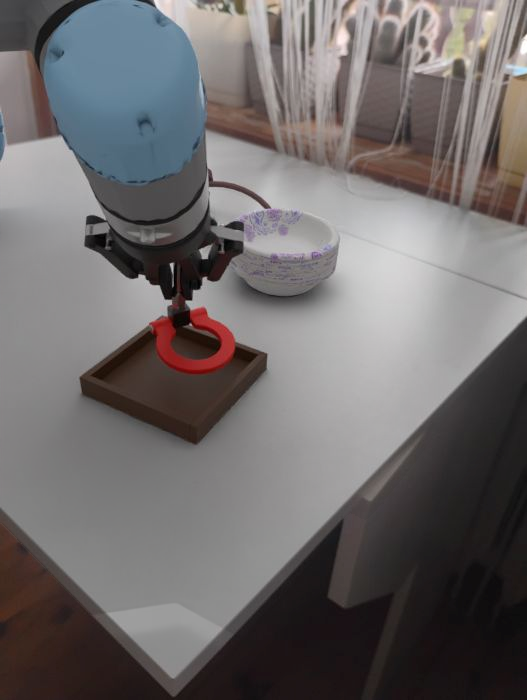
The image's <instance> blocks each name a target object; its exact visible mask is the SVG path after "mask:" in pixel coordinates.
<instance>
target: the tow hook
mask: <svg viewBox="0 0 527 700" xmlns="http://www.w3.org/2000/svg"><path fill="white" fill-rule="evenodd" d="M172 274H173V287H172V300H171V304H169V305H167V307H166V308H167V309H166V311H167V313H166V314H167V315H166V318H163V319H159V320H156V319H155V320H156V321H155V320H152V321H149V322H148V325H149V328H150V331H151V333H152V334H156V335H157V341H156V349H157V353H158V356H159V357H160V359H161V360H162V361H163V363H165V364H166V365H167V366H169V367H170V368H172V369H174V370H176V371H178V372H182V373H187V374H206V373H211V372H214V371H216V370H219V369H221V368H222V367H224V366H225V365H227V364H228V363H229V361H230V360H231V359H232V358H233V355H234V352H235V342H236V339H235V336H234V334H233V332H232V331H231V329H229V327H227V326H226V325H225V324H224V323H222V322H220V321H218V320H215V319H214V318H210V316H209V314H208V311H207V308H206V306H200V307H197V308H193V309H191V307H190V306H189V305H188V303H187V301H185V297H184V293H183V288H182V284H181V282H182V266H181V265H178V264H177V262H174V263H172ZM186 325H191V326H193V327H194V329H200V330H204V331H207V332H210V333H212V334H213V335H215V336H216V337H217V338H218V339H219V341H220V343H221V348H220V350H219V351H218V352H217V353H216V354H215V355H213V356H212V357H210V358H207V359H203V360H190V359H185V358H183V357H181V356H179V355H178V354H176V353H175V352H174V350H173V349H172V347H171V342H172V340H173V338H174V337H175V336H176V330H175V329H177V328H180V327H183V326H186Z"/></svg>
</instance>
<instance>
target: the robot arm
mask: <svg viewBox="0 0 527 700" xmlns="http://www.w3.org/2000/svg"><path fill="white" fill-rule="evenodd" d="M25 51H26V52H27V51H29V52H30V53H31V55H32V57H33V59H34V62H35V65H36V67H37V69H38V71H39V74H40V76H41V78H42V80H43V82H44V87H45V91H46V95H47V98H48V99H47V102H48V105H49V107H50V110H51V114H52V116H53V119H54V121H55V124H56V126H57V128H58V131H59V133H60V135H61V137H62V139H63V141H64V143H65V145H66V146H67V148H68V150H70V151H72V153H73V156H74V157H75V159H76V161H77V163H78V165H79V166H80V168H81V170H82V172H83V174H84V176H85V177H86V178H85V179H86V180H87V181H88V184H89V186H90V189H91V191H92V193H93V195H94V197H95V199H96V202H97V203H98V205H99V208H100V209H101V212H102V214H103V215H104V217H105V219H104V218H103V217H101V216H99V215H95V214H91V215H90V214H89V215H86V217H85V229H84V230H85V231H84V243H83V246H84V247H85V248H87V249H89V250H91V251H93V252H95V253H98V254H100V255H101V256H102V257H103V258H104V259H105V260H106V261H108V262H109V264H111V265H112V266H113V267H114V268H115V269H116V270H117V271H118V272H120V273H121V274H122V275H123V276H124V277H125V278H127V279H129V280H135V279H139V275H140V276H144V279H145V280H146V281H148V282H149V284H150V285H151V286H159V288H160V290H161V294H162V296H163V299H164V301H172V287H173V269H172V267H171V264H173V263H174V262H177V264H178V265H181V266H182V282H181V284H182V288H183V293H184V297H185V301H186V302H189V301H190V302H192V301H194V300H193V299H194V298H193V297H194V291H200V290H201V289H202V286H203V284H204V283H203V279H204V278H206V281H209V282H212V283H216V282H219V281H221V279H222V277H223V275H224V273H225V271H226V270H227V268H228V267H229V266H230V265H229V263H230V261H231V260H232V258H234V257H236V256H238V255H240V254H242V253H243V252H244V223H243V222H240V221H234V220H233V221H230V222H229V223H227V224H223V223H222V224H221V223H220V224H218V221H217V219H216V218H215V216H213V215H211V206H210V205H211V203H210V196H209V192H210V187H209V181H208V168H209V167H208V154H207V152H208V151H207V131H206V126H207V125H206V124H207V118H208V111H207V103H208V96H207V90H206V86H205V82H204V79H203V78H202V77H201V76H202V75H201V70H200V64H199V59H198V56H197V53H196V50H195V47H194V46H193V43H192V41H191V39H190V38H189V36H188V34H187V33H186V32H185V30H184V29H183V28H182V27H181V26H180V25H178V24H177V23H176V22H175V21H173V19H172V18H170V17H168V16H167V15H166V14H164V13H163V12H162V11H161V10H160V9H159V8H158V7H157V5H156V3H155V0H0V53H6V52H25ZM4 126H5V123H4V116H3V112H2V108H0V163H1V162H2V160H3V157H4V153H5V148H6V133H5V130H4ZM209 246H211V247H210V249H209V252H208V254H207V258H203V257H202V253H201V251H200V250H201V249H205V248H207V247H209Z"/></svg>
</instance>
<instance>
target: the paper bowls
mask: <svg viewBox="0 0 527 700" xmlns="http://www.w3.org/2000/svg"><path fill="white" fill-rule="evenodd" d="M271 208H272V207H271ZM233 221H240V222H243V223H244V252H243V253H242V254H240V255H238V256H236V257H234V258H232V260H231V261H230V263H229V265H228V266H229V267H230V269H231V270H232V271H233V272H234V273H235V274H236V275H237V276H238V277H240V278H242V279H244V280H245V281H246V283H247V284H248V285H249V286H250V287H251V288H253V290H254V289H255V290H256V291H259V292H260V293H263V294H266V295H270V296H277V297H292V296H298V295H301V294H304V293H307V292H308V291H310V290H312V289H313V288H314V287H315V286H316V285H317V284H320V283H322V282H324V281H327V280H328V279H329V278H330V277H331V276H332V275H333V274H334V273H335V271H336V267H337V263H338V262H337V261H338V256H339V250H340V243H341V238H340V233H339V231H338V230H337V228H336V227H335V226H334V225H333V224H332V223H331V222H330V221H328V220H327V219H325V218H323V217H321V216H318V215H316V214H314V213H310V212H307V211H303V210H298V209H291V208H276V207H275V208H272V209H264V208H262V209H255V210H252V211H247V212H244V213H243V214H241V215H239V216H237V217H235V219H234V220H233Z"/></svg>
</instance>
